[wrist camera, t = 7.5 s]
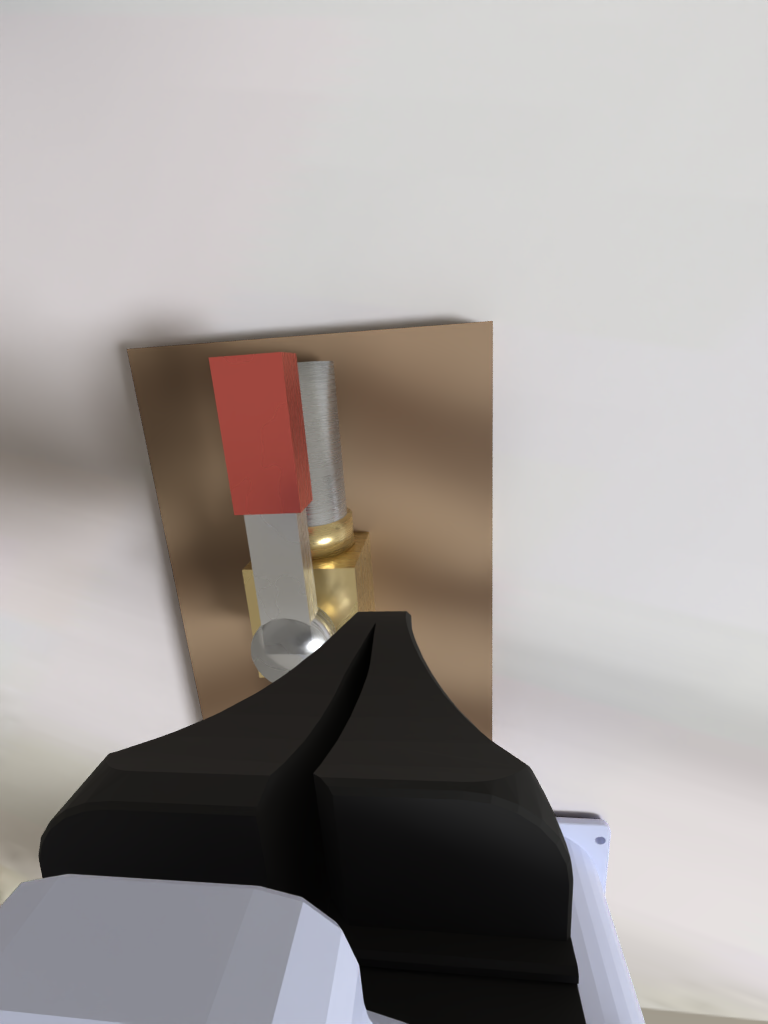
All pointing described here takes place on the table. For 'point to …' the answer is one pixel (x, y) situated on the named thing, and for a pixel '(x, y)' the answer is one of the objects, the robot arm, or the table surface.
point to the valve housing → (327, 510)
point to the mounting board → (368, 490)
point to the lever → (272, 501)
